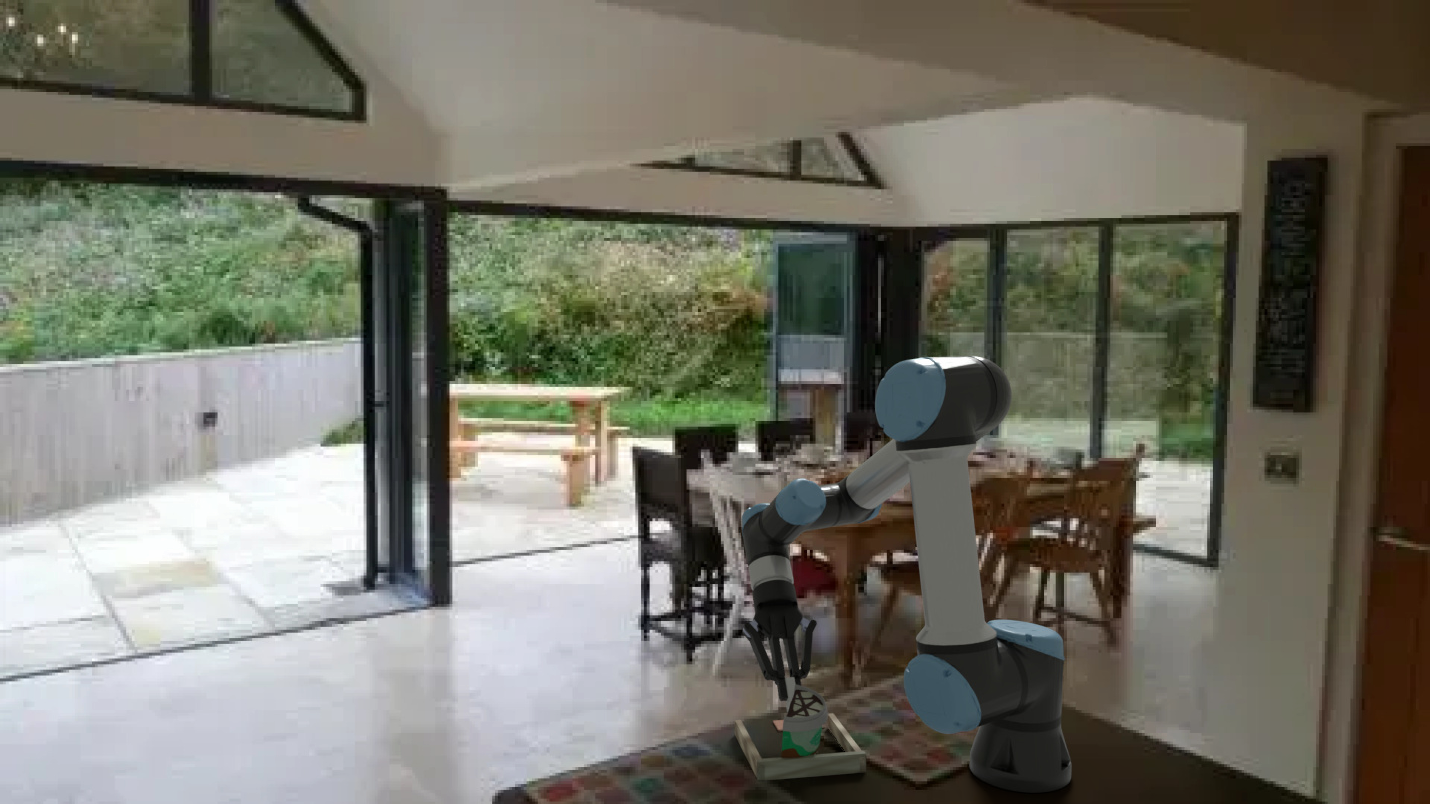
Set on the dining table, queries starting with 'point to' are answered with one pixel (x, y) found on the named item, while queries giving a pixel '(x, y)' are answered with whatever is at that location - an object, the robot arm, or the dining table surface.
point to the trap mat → (778, 724)
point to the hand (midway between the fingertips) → (794, 718)
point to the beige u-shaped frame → (805, 757)
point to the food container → (803, 723)
